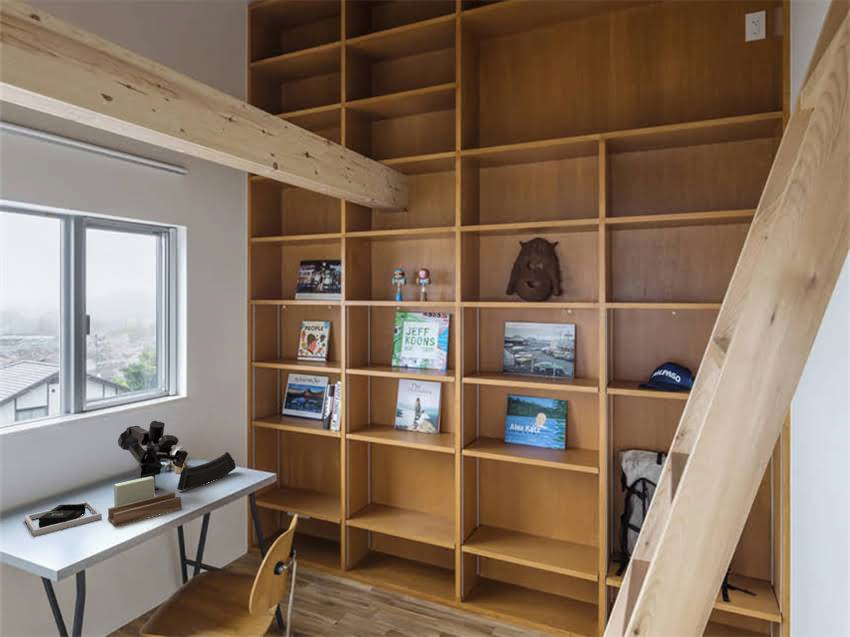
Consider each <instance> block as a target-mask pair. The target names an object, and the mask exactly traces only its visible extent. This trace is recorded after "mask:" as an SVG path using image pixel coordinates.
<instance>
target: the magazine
mask: <svg viewBox="0 0 850 637" xmlns="http://www.w3.org/2000/svg"><path fill="white" fill-rule="evenodd" d="M236 467H237V466H236V462H235V459H234V458H233V457H232V455H231V453H230V452H228V451H225V453H224V454H221V456H218V457H217V458H214V459H213V460H210V461H208V462H205V463H202V464H198V465H196V466H195V465H194V466H189V467H186V466H183V467H182V471H181V472H180V476H179V480H178V485H177V490H178V491H184V490H188V489H194V488H199V487H202V486H204V485H203V484H205V485H207V484H206V483H208V482H211V481H213V480H216V479H218V480H219V479H221V478H222V477H224V476H227V474H229V475H230V473H231V472H233V471H234V470H235V469H236ZM216 481H217V480H216ZM213 482H214V481H213ZM211 483H212V482H211ZM208 484H209V483H208ZM201 485H202V486H201ZM198 486H199V487H198Z"/></svg>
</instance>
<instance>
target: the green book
mask: <svg viewBox="0 0 850 637" xmlns="http://www.w3.org/2000/svg"><path fill="white" fill-rule="evenodd" d="M155 484H156V480H155V481H154V477H152V476H150V477H145V478H140V479H139V478H136V479H132V480H127V481H123V482H119V483H115V484H113V485H114V486H113V487H114V488H113V490H114V495H113V496H114V501H113V502H114V506H113V507H116V506H120V505H124V504H128V503H132V502H136V501H140V500H145V499H149V498H153V497H156V494H155V492H156V490H155Z"/></svg>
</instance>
